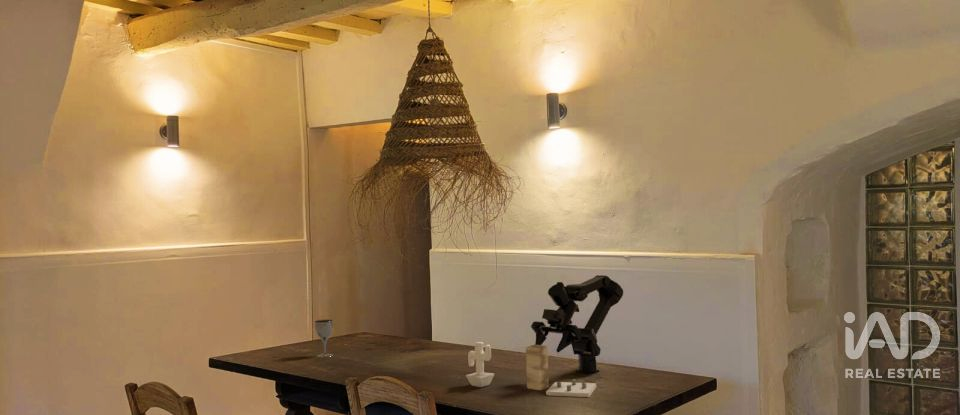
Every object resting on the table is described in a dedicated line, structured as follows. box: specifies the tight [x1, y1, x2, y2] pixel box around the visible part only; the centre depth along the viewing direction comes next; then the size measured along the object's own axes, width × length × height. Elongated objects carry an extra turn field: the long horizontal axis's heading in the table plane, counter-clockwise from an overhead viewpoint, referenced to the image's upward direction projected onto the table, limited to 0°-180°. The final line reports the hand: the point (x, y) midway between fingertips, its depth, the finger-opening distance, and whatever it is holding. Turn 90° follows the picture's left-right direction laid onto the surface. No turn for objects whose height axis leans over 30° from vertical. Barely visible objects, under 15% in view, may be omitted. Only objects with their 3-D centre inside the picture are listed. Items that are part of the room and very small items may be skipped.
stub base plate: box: [545, 378, 597, 398], centre depth 266 cm, size 14×14×3 cm
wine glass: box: [313, 319, 334, 358], centre depth 343 cm, size 8×8×15 cm
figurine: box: [465, 341, 495, 388], centre depth 279 cm, size 7×9×15 cm
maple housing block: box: [525, 344, 550, 391], centre depth 273 cm, size 5×5×14 cm
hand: (546, 350), depth 277 cm, fingers open, 9 cm apart
